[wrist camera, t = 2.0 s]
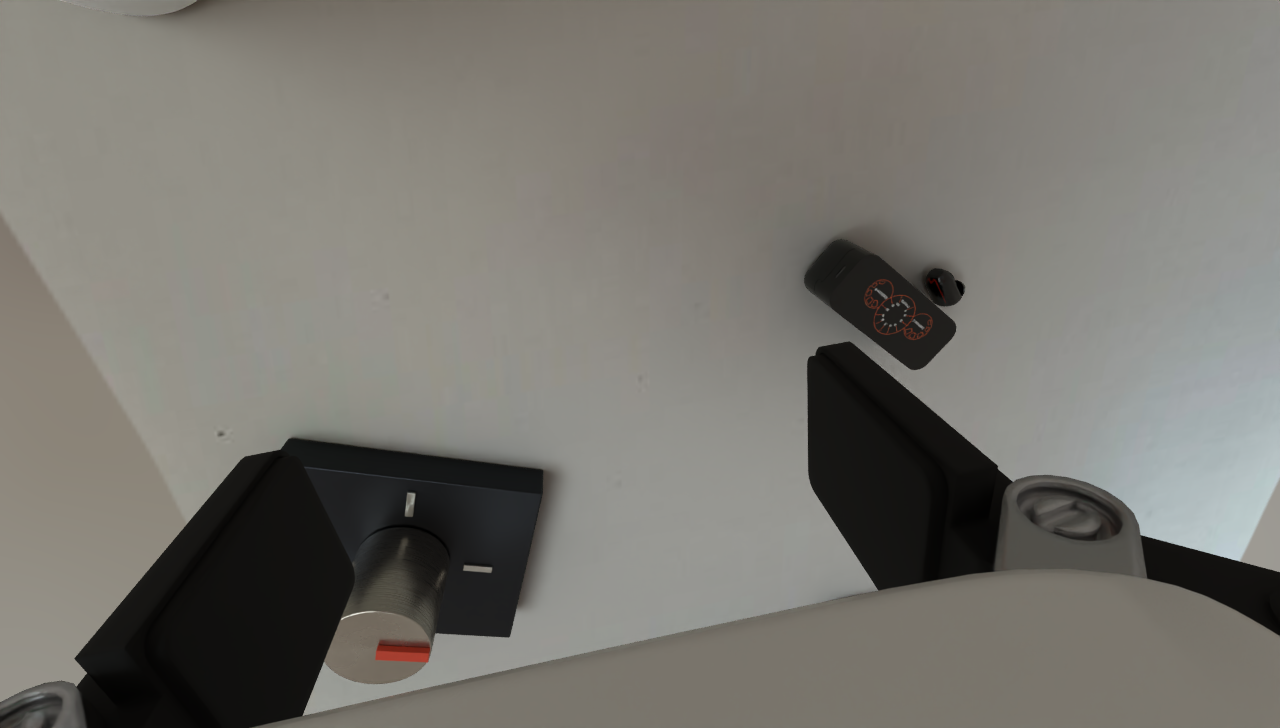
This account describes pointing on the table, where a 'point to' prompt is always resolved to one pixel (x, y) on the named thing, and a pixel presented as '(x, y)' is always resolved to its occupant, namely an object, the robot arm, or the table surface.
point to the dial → (391, 607)
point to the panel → (437, 520)
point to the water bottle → (134, 6)
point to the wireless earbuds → (886, 301)
